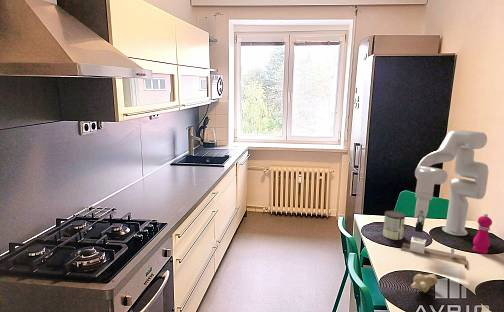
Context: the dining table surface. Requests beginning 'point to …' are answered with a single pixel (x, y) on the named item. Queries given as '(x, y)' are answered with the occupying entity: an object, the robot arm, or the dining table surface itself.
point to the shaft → (452, 253)
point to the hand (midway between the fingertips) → (419, 228)
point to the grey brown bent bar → (438, 255)
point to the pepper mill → (482, 235)
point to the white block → (417, 245)
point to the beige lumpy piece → (424, 281)
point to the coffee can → (394, 225)
